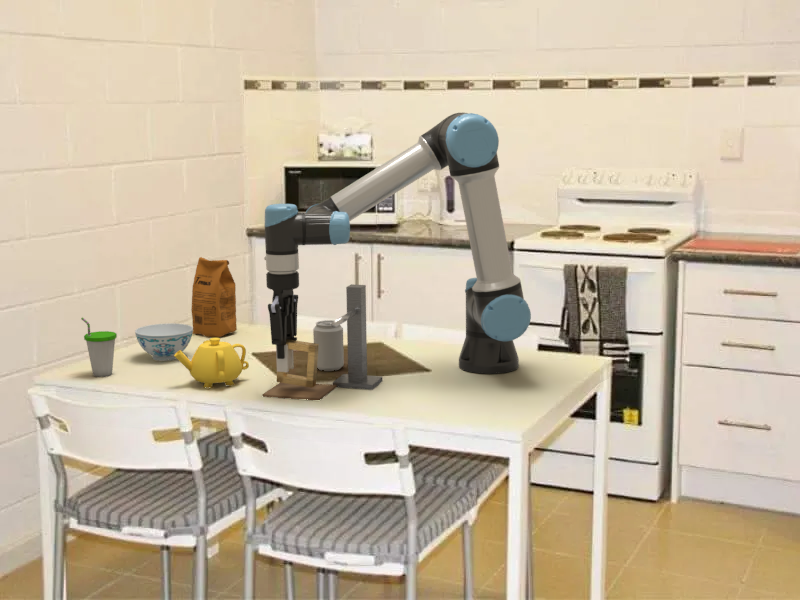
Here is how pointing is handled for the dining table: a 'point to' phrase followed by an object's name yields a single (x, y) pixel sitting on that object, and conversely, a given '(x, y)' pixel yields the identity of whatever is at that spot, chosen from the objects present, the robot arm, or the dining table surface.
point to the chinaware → (164, 339)
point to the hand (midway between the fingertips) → (285, 369)
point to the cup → (100, 351)
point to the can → (329, 345)
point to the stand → (356, 342)
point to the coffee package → (213, 299)
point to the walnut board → (299, 391)
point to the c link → (311, 365)
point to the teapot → (215, 362)
